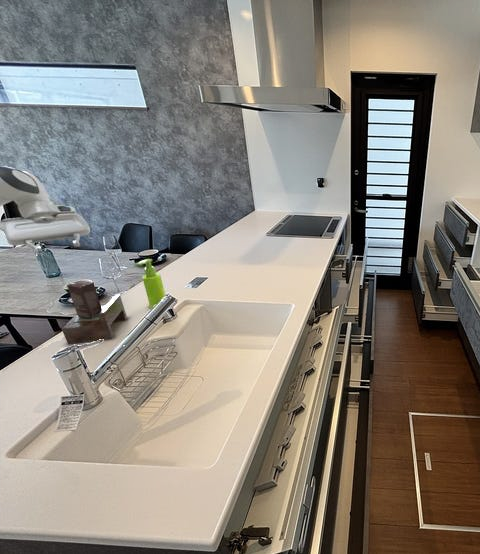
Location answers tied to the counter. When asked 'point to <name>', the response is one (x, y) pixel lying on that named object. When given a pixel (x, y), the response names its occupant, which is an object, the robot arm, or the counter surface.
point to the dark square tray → (95, 323)
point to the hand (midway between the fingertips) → (59, 249)
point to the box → (85, 299)
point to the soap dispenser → (152, 283)
